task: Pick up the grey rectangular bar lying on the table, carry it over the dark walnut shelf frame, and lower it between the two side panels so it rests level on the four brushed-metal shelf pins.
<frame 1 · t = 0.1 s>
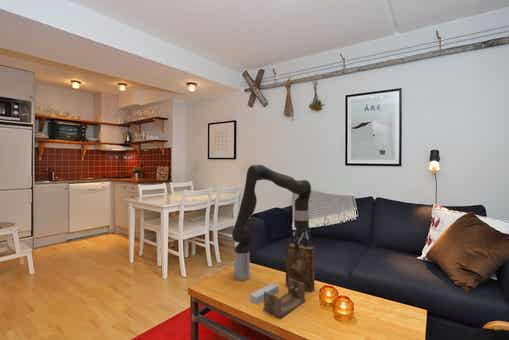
hand: (301, 248, 141), 29 cm above the table, fingers open, 8 cm apart
grey rectangular bar: (264, 297, 149), on the table
book: (300, 287, 159), on the table
shelf frame: (284, 305, 139), on the table
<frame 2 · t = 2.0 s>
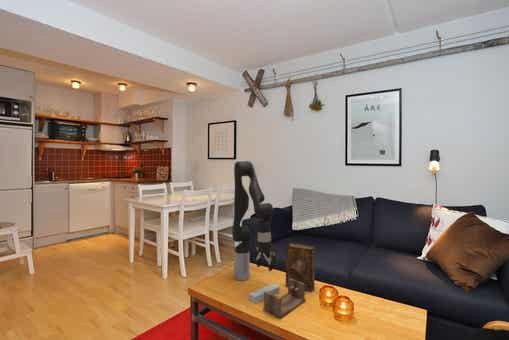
hand: (264, 268, 148), 16 cm above the table, fingers open, 8 cm apart
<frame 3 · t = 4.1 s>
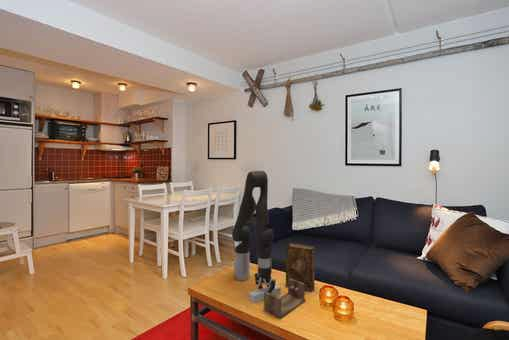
hand: (264, 294, 149), 1 cm above the table, fingers closed on grey rectangular bar, 5 cm apart
grey rectangular bar: (265, 296, 149), on the table, touching gripper
everything else where it was.
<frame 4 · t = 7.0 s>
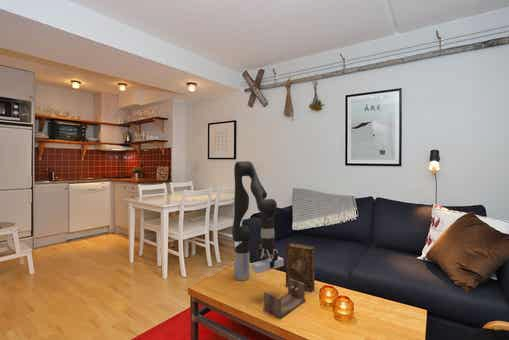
hand: (267, 266, 146), 18 cm above the table, fingers closed on grey rectangular bar, 5 cm apart
grey rectangular bar: (268, 268, 147), point 17 cm above the table, touching gripper
everything else where it was.
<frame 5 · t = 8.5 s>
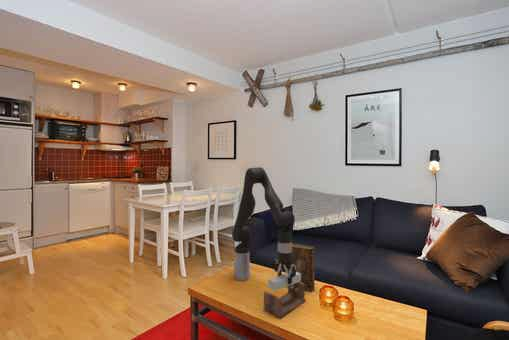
hand: (284, 281, 139), 13 cm above the table, fingers closed on grey rectangular bar, 5 cm apart
grey rectangular bar: (285, 283, 139), point 12 cm above the table, touching gripper
everything else where it was.
when the fingers open (9 cm above the table, at t = 9.8 s): grey rectangular bar stays where it is, resting on shelf frame.
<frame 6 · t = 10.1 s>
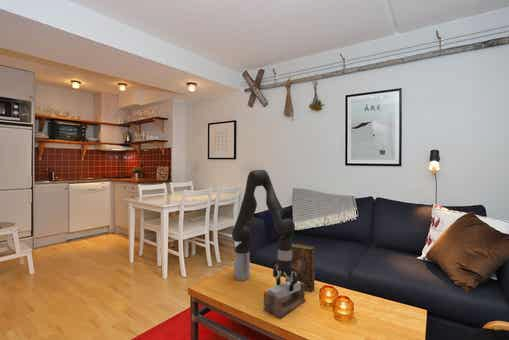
hand: (284, 288, 139), 9 cm above the table, fingers open, 7 cm apart
grey rectangular bar: (284, 293, 139), point 7 cm above the table, touching shelf frame
everything else where it was.
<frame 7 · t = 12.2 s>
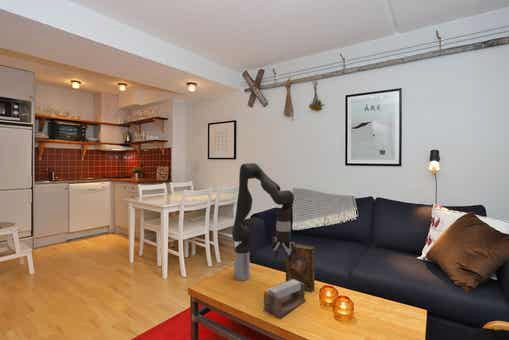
hand: (283, 259, 140), 24 cm above the table, fingers open, 8 cm apart
nothing on the table moved.
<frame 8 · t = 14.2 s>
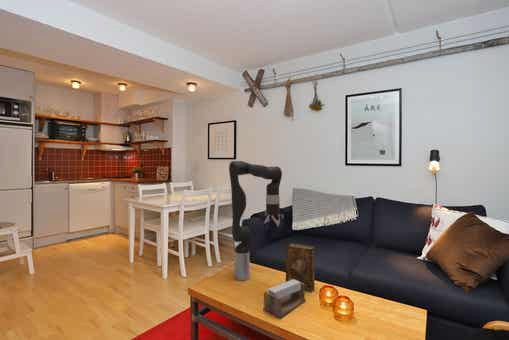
hand: (272, 231, 150), 36 cm above the table, fingers open, 8 cm apart
nothing on the table moved.
at the end: grey rectangular bar 0.2 cm off-centre on the shelf frame, point 6.7 cm above the shelf frame's base; grey rectangular bar tilted 1°; the gripper is holding nothing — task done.
